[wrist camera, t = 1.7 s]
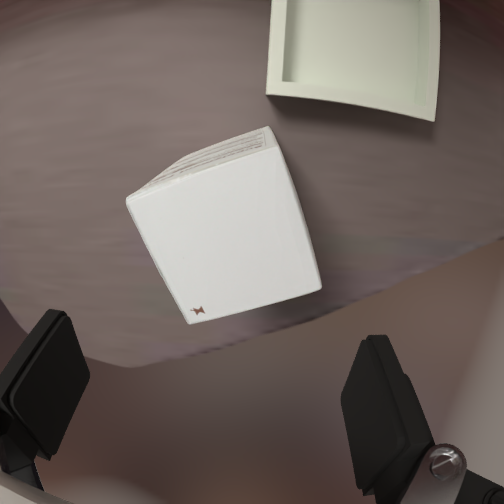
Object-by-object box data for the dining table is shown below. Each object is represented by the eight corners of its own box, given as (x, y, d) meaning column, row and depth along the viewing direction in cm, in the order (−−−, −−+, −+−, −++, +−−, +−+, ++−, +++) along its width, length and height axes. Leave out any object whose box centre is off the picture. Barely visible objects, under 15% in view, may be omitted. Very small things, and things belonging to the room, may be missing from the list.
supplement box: (298, 208, 26) (326, 295, 15) (214, 233, 27) (184, 330, 16) (271, 122, 23) (283, 142, 12) (182, 153, 24) (118, 201, 13)
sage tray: (274, -47, 16) (275, -60, 14) (424, -14, 16) (437, -21, 14) (265, 94, 22) (266, 93, 20) (420, 118, 22) (434, 121, 20)
